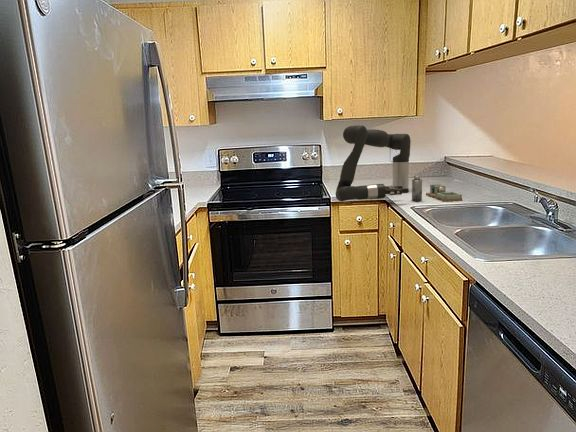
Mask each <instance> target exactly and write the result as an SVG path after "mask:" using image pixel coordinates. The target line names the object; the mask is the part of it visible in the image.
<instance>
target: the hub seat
mask: <svg viewBox="0 0 576 432" xmlns="http://www.w3.org/2000/svg"><path fill="white" fill-rule="evenodd" d="M437 197H439V198H442V199H457V198H462V199H463V194H461V193H459V192H458V193H457V192H455V191H447V192H446V191H445V193H437Z"/></svg>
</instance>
